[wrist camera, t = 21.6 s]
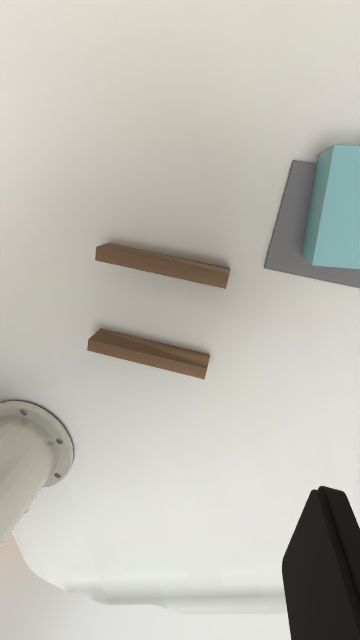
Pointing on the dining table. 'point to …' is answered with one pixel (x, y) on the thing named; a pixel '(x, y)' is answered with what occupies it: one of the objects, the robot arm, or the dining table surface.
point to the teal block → (335, 210)
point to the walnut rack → (146, 349)
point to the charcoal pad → (301, 232)
